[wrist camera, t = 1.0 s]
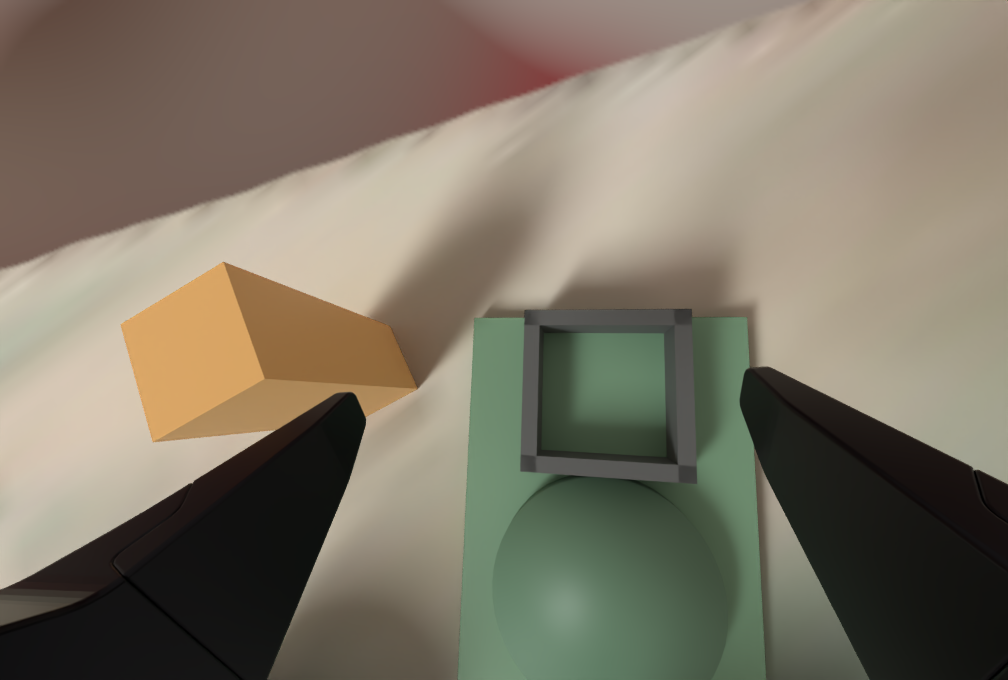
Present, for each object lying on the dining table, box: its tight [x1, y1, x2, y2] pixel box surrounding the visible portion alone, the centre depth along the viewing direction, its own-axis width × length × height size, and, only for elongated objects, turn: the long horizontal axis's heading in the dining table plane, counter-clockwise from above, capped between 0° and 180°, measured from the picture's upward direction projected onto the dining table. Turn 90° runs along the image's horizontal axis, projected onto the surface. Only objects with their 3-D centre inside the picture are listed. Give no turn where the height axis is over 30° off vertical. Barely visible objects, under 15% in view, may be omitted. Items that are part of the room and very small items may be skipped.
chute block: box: [121, 262, 418, 442], centre depth 20 cm, size 5×5×12 cm
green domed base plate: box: [458, 309, 766, 680], centre depth 20 cm, size 20×15×4 cm
